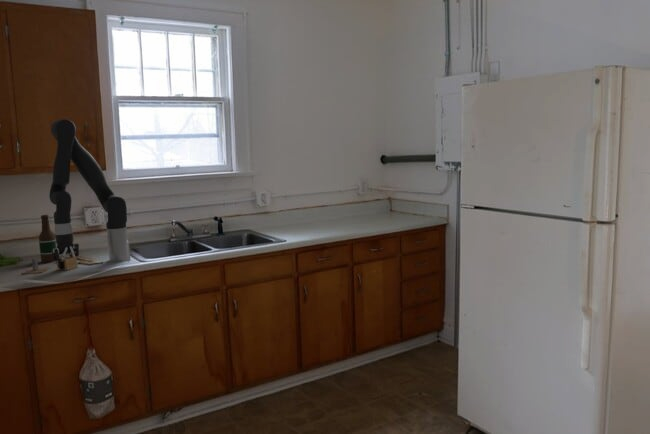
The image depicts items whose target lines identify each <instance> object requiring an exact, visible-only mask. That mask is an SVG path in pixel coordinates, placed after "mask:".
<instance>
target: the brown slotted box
mask: <svg viewBox="0 0 650 434" xmlns="http://www.w3.org/2000/svg"><path fill="white" fill-rule="evenodd" d="M65 257H68V258H67V259H65V258H64V259H63V263H64V269H63V270H68V271H71V270H70V269H72V270H74V269H73V268H75V269H78V268H77V267H78V260H77V259H78V258H77V257H70V256H69V255H67V256H66V255H65ZM60 259H61V258H60ZM56 267H57V269H58V270H57V269H56V270H57V271H63V270H61V269H59V266H58V262H57V261H56Z"/></svg>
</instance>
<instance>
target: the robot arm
mask: <svg viewBox="0 0 650 434" xmlns="http://www.w3.org/2000/svg"><path fill="white" fill-rule="evenodd" d="M76 131H77V128H76V125H75V123H74V122H73V121H72V120H70V119H67V118H63V119H58V120H55V121H54V122H52V124H51V126H50V132H51V135H52V136H53V137H54V139H55V140H56V141H57V150H56V155H55V159H54V161H53V168H52V169H53V170H52V182H51V185H50V188H49V189H50V190H49V194H48V195H49V201H50V202H51V203H52V204H53V205H55V206H56V207H55V208H56V209H55V211H54V213H53V222H54V223H53V224H54V235H55V241H56V248H55V249H52V255H53V259H54V261H55V262H56V263H57V262H58V266H59V269H61V270H60V271H63V269H64V263H63V259H64V257H66V255H67V256H68V257H76V258H77V257H78V256H79V253H80V252H79V251H80V249H79V248H80V245H79V243H73V242H74V240H75V239H74V232H73V231H74V230H73V225H72V218H71V217H72V216H71V211H72V196H71V194H70V193H69V191H67V189H66V188H67V186H68V185H69V184H70V179H71V178H70V176H71V161H72V163H73V165H74V167H76V170H77V172H79V173H80V175H81V176H82V179H83V180H84V181H85V183H87V185H88V186H89V187H90V190H92V191H93V192H94V194H95V196H96V197H97V199H98V201H99V203H100V205H101V207H102V209H103V210H104V211H105V212H106V213H107V222H106V223H105V225H106V226H105V227H106V236H107V237H106V238H107V249H108V257H109V258H108V259H109V262H111V263H114V262H115V263H117V262H129V261H130V260H131V250H130V243H129V242H130V241H128V233H127V221H128V214H127V213H128V212H127V211H128V210H127V203H126V201H125V199H124V198H123V197H122V196H119V195H117V194H115V193H114V192H113V191H112V189H111V188H110V186H109V184H108V183H107V180H106V177H105V174H104V172H103V170H102V167H101V166H100V165H99V163H98V161H97V160H96V159H95V157H93V155H92V154H91V153H90V152H89V151H88V150H87V149H85V147H83V145H81V143H80V142H79V140H78V139H77V137H76ZM60 258H61V259H60Z"/></svg>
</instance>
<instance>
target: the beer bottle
mask: <svg viewBox="0 0 650 434" xmlns="http://www.w3.org/2000/svg"><path fill="white" fill-rule="evenodd" d="M40 218H41V231H40V233H39V236H38V244H39V252H40V254H39V255H40V260H41V263H43V264H48V263H54V262H56V261H54V259H53V255H52V249H55V248H57V243H56V239H55V232H53V231H52V230H51V226H50V221H49V214H42V215H40Z"/></svg>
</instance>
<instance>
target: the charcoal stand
mask: <svg viewBox="0 0 650 434" xmlns="http://www.w3.org/2000/svg"><path fill="white" fill-rule="evenodd" d="M68 257H69V256H68ZM68 257H66V256H65V257H64V258H65V259H67V258H68ZM78 268H79V267H78V266H77V268H73V269H70V270H62V271H65V272H67V271H72V270H75V269H78ZM56 271H59V270H58V269H56Z"/></svg>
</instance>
